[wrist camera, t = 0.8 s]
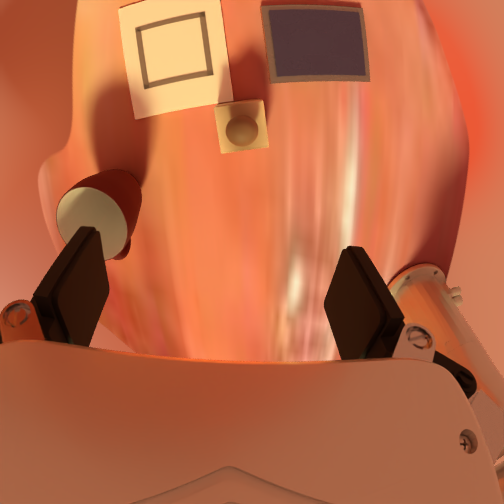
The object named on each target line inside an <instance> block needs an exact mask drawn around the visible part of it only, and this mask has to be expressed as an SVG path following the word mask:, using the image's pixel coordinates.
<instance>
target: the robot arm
mask: <svg viewBox="0 0 504 504" xmlns="http://www.w3.org/2000/svg"><path fill="white" fill-rule="evenodd" d="M460 293H461V289H460V287H455V288H452V289H450V288H448V286H447V285H446V278H445V275H444V273H443V272H442V271H441V269H440V268H439V267H437V266H436V265H433V264H427V263H424V264H418V265H415V266H413V267H410V268H408V269H407V270H405V271H403V272H402V273H401V274H399V275H398V276H397V277H396V278H395V279H394V280H393V281H392V282H391V283H390V284H389V286H388V287H387V285H386V284H385V282H384V280H383V279H382V277H381V276H380V274H379V272H378V271H377V269H376V267H375V266H374V264H373V263H372V261H371V259H370V258H369V256H368V255H367V253H366V252H365V250H364V249H363V248H362V247H357V246H348V247H347V248H346V249H343V250H342V252H341V255H340V258H339V261H338V264H337V267H336V270H335V273H334V275H333V278H332V281H331V284H330V287H329V289H328V292H327V295H326V297H325V300H324V309H325V312H326V315H327V318H328V321H329V323H330V326H331V329H332V332H333V335H334V338H335V341H336V344H337V347H338V350H339V353H340V357H341V360H333V361H301V362H258V361H225V360H206V359H191V358H178V357H166V356H156V355H146V354H137V353H129V352H121V351H114V350H106V349H99V348H92V347H89V345H90V342H91V339H92V336H93V333H94V331H95V328H96V325H97V322H98V320H99V317H100V315H101V312H102V310H103V307H104V305H105V302H106V300H107V297H108V295H109V282H108V277H107V272H106V266H105V260H104V254H103V248H102V241H101V235H100V232H99V231H96V228H95V227H91V226H80V227H79V229H78V230H77V231H76V233H75V234H74V235H73V237H72V238H71V239H70V241H69V242H68V243H67V245H66V246H65V247H64V249H63V250H62V252H61V253H60V254H59V256H58V257H57V259H56V260H55V262H54V263H53V265H52V266H51V268H50V269H49V271H48V272H47V274H46V275H45V277H44V278H43V280H42V281H41V283H40V284H39V286H38V287H37V289H36V291H35V292H34V294H33V298H32V299H31V301H30V302H29V301H28V300H16V301H13V302H11V303H9V304H8V305H7V306H5V308H4V309H3V310H2V311H1V314H0V504H504V461H503V462H501V463H499V464H498V465H496V466H494V464H495V462H496V460H498V459H499V458H500V457H502V456H503V455H504V378H503V377H502V375H501V374H500V372H499V371H498V370H497V368H496V366H495V365H494V363H493V362H492V360H491V359H490V357H489V355H488V354H487V352H486V351H485V349H484V347H483V346H482V344H481V343H480V341H479V340H478V338H477V336H476V335H475V333H474V332H473V330H472V329H471V327H470V326H469V324H468V323H467V321H466V320H465V318H464V317H463V315H462V314H461V313H460V311H459V309H458V308H457V306H460V305H462V297H461V296H460V295H458V294H460ZM455 295H457V296H455ZM452 296H453V297H452Z"/></svg>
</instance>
